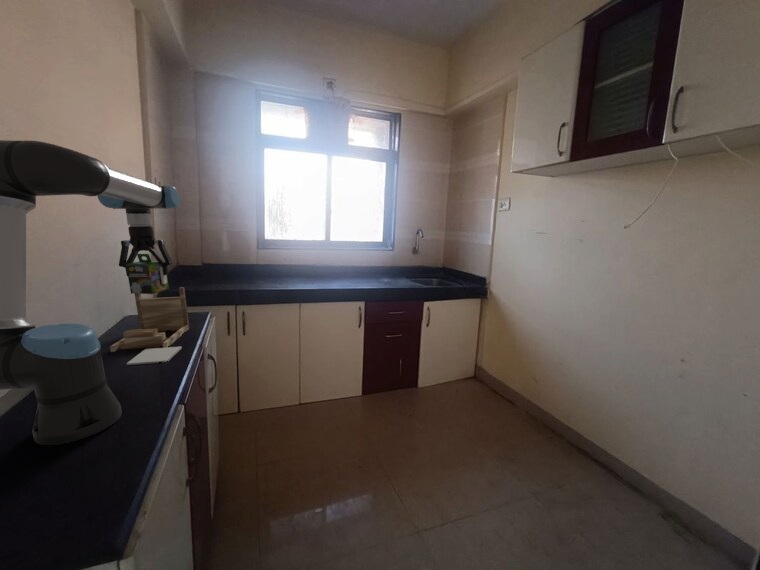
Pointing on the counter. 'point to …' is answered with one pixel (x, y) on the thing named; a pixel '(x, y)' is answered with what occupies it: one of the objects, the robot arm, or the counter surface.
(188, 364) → the counter surface
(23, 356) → the robot arm
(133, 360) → the felt mat
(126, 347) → the offcut stack
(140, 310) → the rack
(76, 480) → the counter surface
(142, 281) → the chalk box
